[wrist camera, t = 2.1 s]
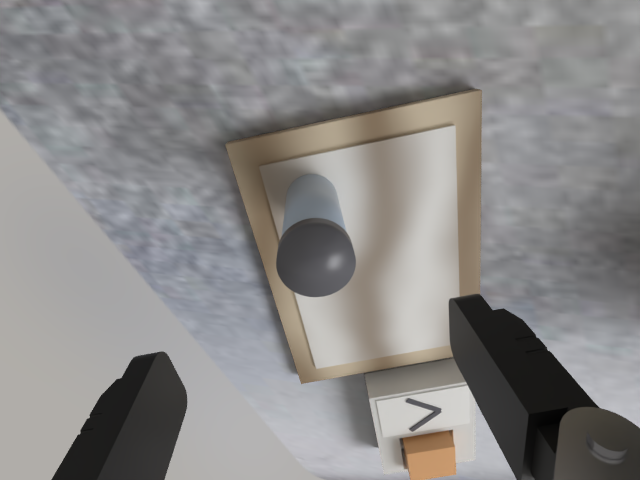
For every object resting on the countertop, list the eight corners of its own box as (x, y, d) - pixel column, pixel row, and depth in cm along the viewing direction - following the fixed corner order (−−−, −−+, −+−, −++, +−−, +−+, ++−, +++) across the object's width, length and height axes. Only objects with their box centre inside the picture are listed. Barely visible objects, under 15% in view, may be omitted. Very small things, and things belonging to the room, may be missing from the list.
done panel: (462, 356, 29) (476, 382, 26) (464, 434, 33) (476, 462, 31) (364, 373, 29) (369, 401, 27) (378, 448, 34) (384, 477, 31)
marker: (333, 167, 20) (349, 220, 14) (343, 218, 22) (361, 289, 15) (278, 178, 20) (266, 237, 14) (291, 228, 22) (286, 303, 15)
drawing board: (475, 88, 20) (483, 90, 19) (475, 344, 28) (480, 354, 27) (227, 141, 20) (224, 145, 19) (301, 375, 29) (301, 385, 28)
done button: (446, 425, 30) (455, 446, 28) (448, 453, 31) (456, 474, 30) (401, 433, 30) (407, 454, 28) (405, 460, 32) (410, 481, 30)
